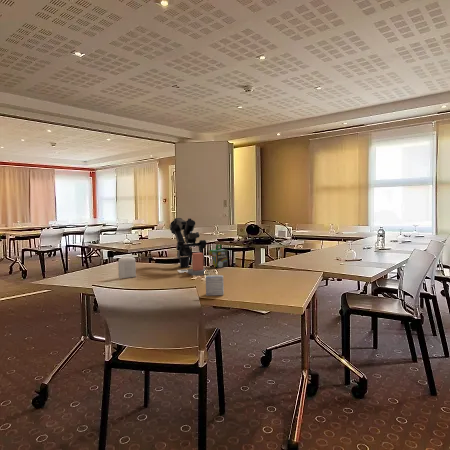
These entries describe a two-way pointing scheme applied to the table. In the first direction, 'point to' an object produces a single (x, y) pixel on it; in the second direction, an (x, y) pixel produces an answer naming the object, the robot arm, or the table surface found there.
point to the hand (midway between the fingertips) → (194, 255)
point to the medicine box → (214, 285)
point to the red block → (197, 261)
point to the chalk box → (219, 257)
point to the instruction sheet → (182, 271)
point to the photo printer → (127, 267)
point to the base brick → (196, 272)
